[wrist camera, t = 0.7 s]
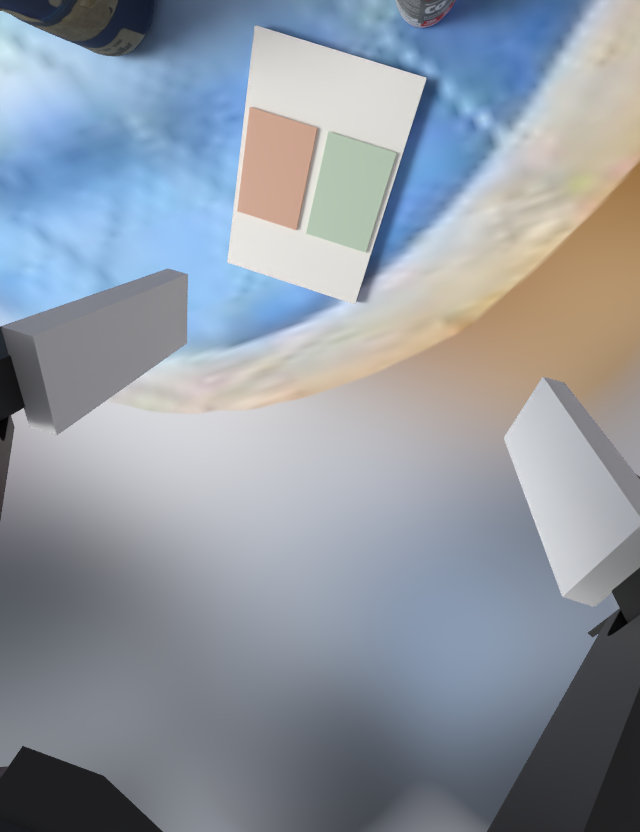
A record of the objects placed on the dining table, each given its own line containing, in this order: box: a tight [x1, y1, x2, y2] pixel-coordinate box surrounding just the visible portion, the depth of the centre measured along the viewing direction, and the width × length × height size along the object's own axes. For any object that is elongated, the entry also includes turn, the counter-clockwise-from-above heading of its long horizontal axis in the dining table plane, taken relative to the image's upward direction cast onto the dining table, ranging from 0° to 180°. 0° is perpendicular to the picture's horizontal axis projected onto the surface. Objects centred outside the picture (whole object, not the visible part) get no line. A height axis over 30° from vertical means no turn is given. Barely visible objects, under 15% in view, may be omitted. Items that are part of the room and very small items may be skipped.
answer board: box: [227, 25, 426, 304], centre depth 34 cm, size 18×14×1 cm
